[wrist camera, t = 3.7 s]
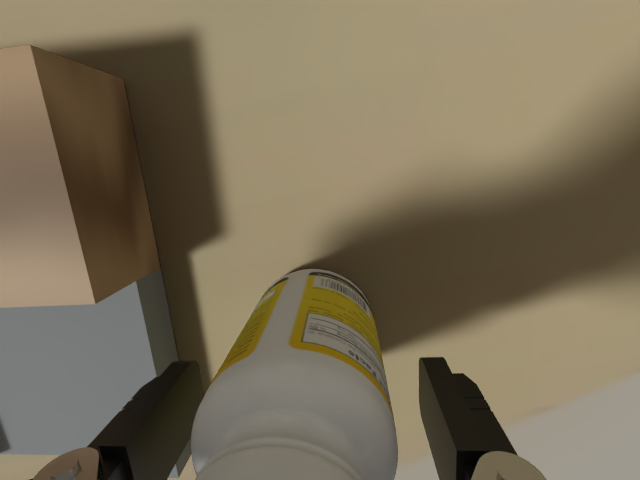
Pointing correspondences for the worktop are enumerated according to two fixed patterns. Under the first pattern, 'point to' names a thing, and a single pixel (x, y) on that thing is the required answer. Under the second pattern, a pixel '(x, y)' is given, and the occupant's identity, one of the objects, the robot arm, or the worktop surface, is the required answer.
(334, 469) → the supplement bottle
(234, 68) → the worktop surface
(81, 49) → the worktop surface
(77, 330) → the tray
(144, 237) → the brown box
